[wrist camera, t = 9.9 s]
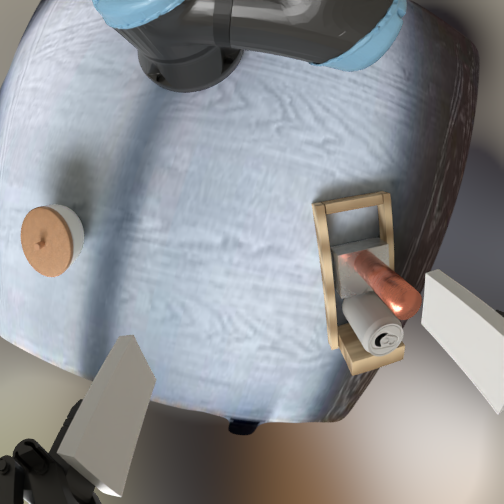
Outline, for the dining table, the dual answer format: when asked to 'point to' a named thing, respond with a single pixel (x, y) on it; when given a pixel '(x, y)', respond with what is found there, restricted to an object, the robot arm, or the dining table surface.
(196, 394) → the dining table surface
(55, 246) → the lidded jar
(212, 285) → the dining table surface
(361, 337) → the beverage can
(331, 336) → the press frame
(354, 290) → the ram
